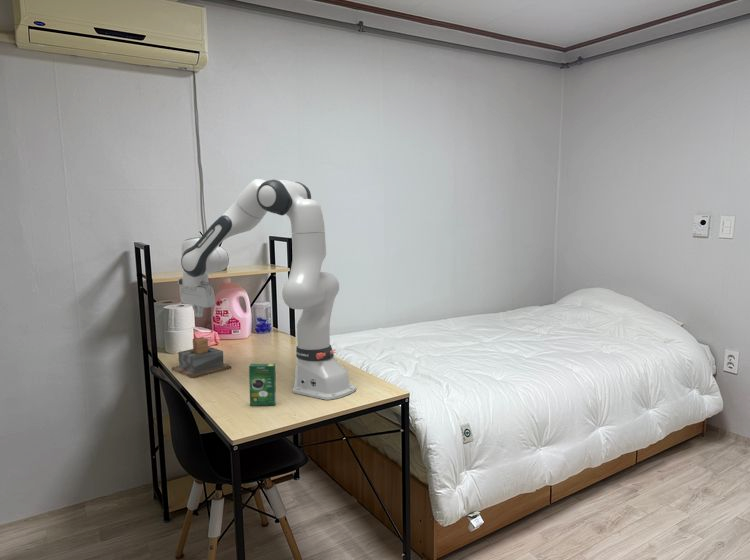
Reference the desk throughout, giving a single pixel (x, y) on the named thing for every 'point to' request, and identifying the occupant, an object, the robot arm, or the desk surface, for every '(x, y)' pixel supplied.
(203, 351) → the peg
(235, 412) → the desk surface
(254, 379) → the coffee box
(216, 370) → the hole block
